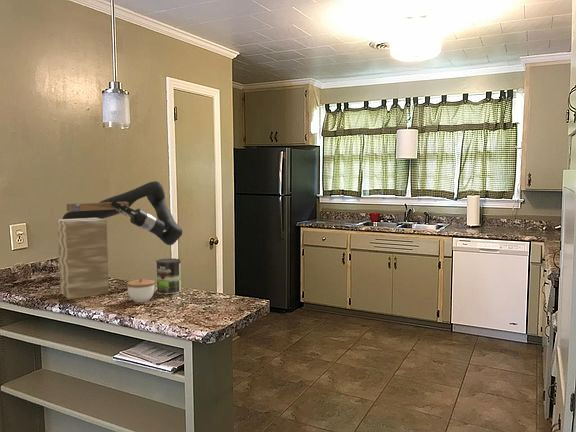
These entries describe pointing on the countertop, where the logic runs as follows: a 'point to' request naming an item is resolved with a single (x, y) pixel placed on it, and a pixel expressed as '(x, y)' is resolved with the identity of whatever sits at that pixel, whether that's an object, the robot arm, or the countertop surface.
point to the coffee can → (168, 276)
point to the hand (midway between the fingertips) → (110, 202)
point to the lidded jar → (141, 290)
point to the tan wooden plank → (93, 206)
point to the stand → (83, 257)
